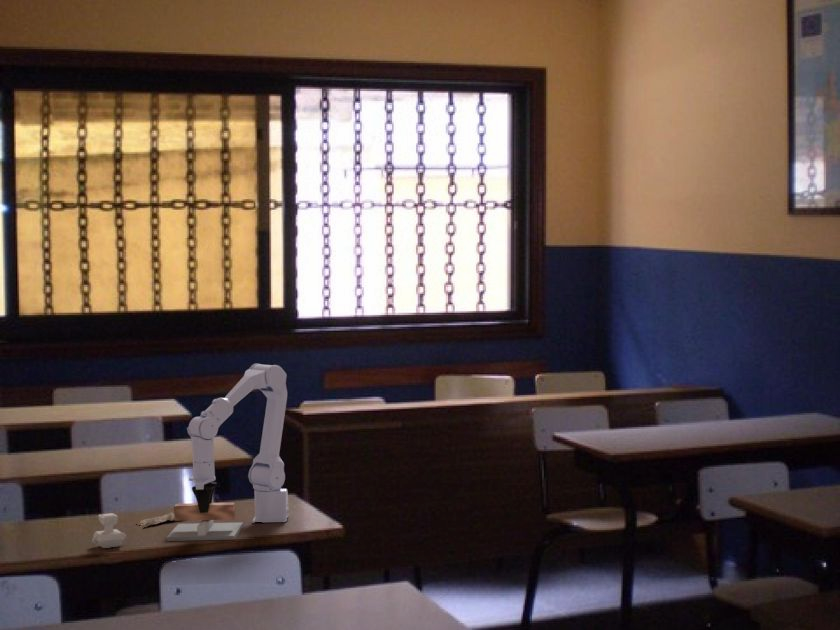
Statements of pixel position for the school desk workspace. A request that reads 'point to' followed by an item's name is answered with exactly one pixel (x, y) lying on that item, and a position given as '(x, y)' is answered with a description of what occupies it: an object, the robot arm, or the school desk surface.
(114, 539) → the stamp
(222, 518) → the stick
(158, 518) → the stone fragment
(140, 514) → the school desk surface
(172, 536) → the board
